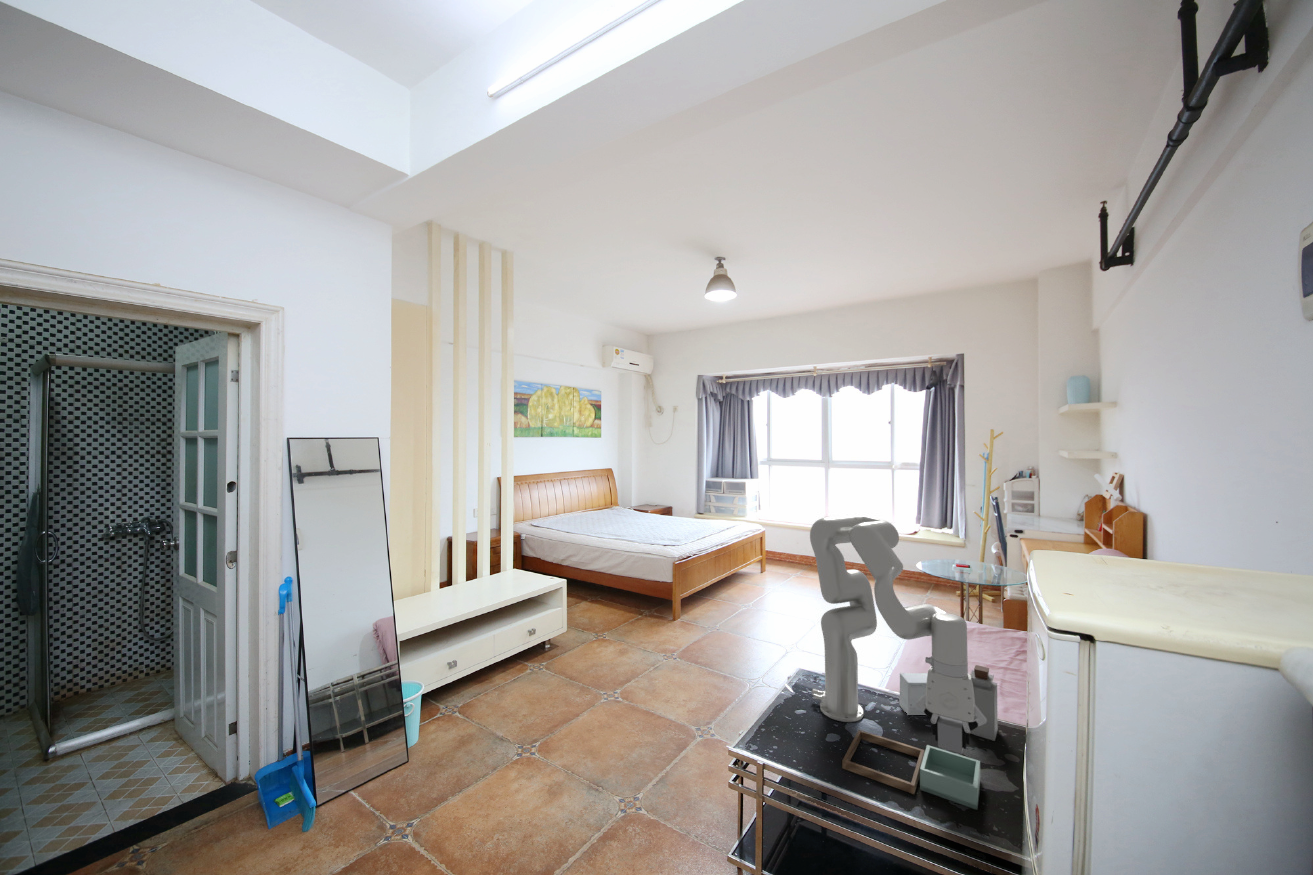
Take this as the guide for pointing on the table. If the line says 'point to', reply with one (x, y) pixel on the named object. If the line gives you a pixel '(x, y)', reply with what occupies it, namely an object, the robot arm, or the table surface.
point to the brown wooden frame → (879, 775)
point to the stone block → (950, 734)
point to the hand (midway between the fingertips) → (951, 741)
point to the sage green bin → (950, 776)
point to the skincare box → (912, 692)
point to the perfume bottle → (985, 701)
